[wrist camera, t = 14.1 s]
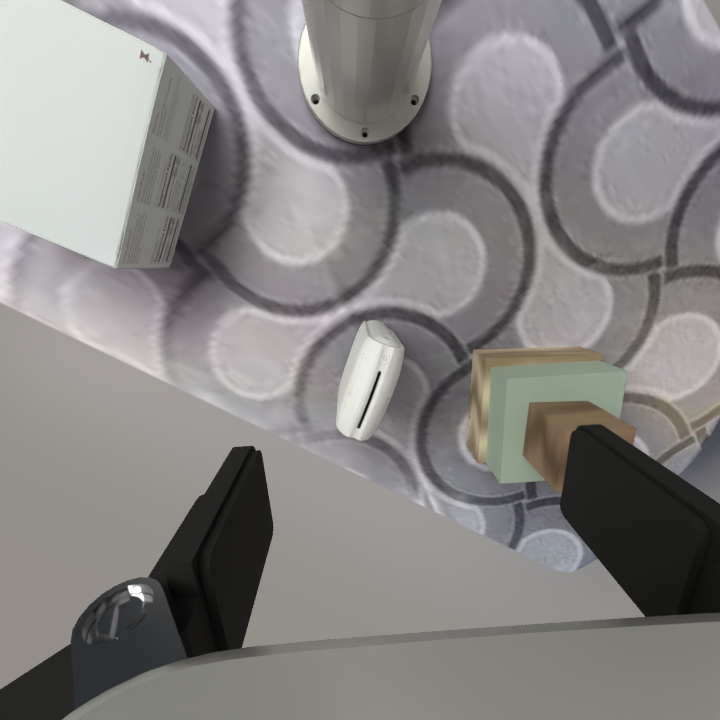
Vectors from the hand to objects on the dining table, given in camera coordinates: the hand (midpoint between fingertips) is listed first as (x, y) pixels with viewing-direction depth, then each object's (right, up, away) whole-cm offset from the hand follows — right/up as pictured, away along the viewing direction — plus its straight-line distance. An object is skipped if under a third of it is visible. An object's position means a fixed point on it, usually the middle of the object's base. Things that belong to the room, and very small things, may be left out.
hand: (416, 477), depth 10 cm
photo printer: (-1, +4, +31) cm, 31 cm away
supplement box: (-25, +24, +25) cm, 42 cm away
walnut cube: (+18, -4, +25) cm, 31 cm away
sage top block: (+19, -3, +29) cm, 35 cm away
